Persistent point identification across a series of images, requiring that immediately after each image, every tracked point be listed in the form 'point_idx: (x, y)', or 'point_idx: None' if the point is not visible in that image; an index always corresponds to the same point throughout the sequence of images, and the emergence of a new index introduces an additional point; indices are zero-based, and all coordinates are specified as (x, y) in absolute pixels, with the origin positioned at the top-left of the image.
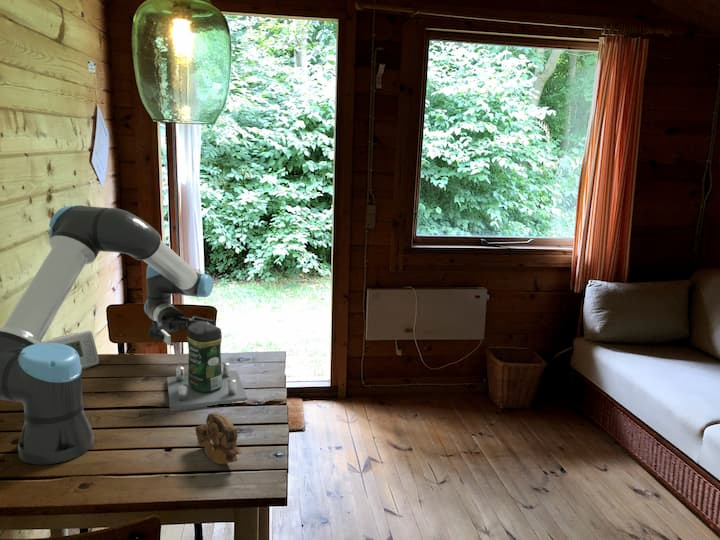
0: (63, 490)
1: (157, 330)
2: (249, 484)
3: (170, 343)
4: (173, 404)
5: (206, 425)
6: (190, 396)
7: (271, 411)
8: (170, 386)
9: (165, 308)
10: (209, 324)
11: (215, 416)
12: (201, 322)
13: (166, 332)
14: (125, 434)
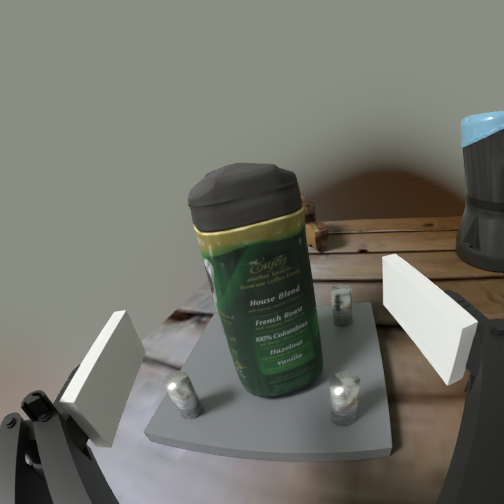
0: (442, 222)
1: (498, 321)
2: None
3: (384, 297)
4: (363, 306)
5: (313, 224)
6: (325, 329)
7: (201, 298)
8: (377, 379)
9: None
10: (210, 178)
11: (303, 197)
12: (232, 167)
13: (418, 285)
14: (427, 268)
